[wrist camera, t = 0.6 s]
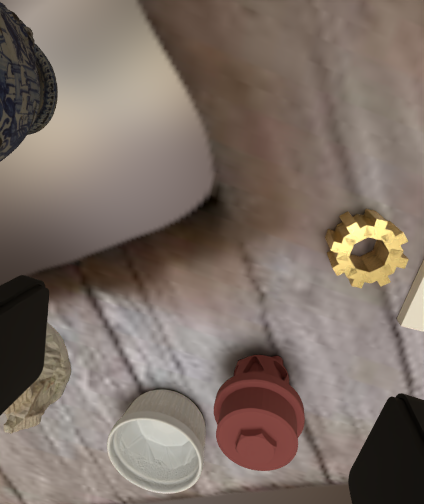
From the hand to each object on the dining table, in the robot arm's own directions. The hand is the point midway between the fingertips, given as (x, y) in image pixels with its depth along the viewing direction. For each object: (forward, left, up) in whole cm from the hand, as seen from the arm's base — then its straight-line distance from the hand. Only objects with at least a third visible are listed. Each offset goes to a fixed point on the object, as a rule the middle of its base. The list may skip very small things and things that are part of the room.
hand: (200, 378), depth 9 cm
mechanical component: (+23, +6, -31) cm, 39 cm away
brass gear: (+3, +12, -31) cm, 33 cm away
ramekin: (+36, -5, -31) cm, 48 cm away
